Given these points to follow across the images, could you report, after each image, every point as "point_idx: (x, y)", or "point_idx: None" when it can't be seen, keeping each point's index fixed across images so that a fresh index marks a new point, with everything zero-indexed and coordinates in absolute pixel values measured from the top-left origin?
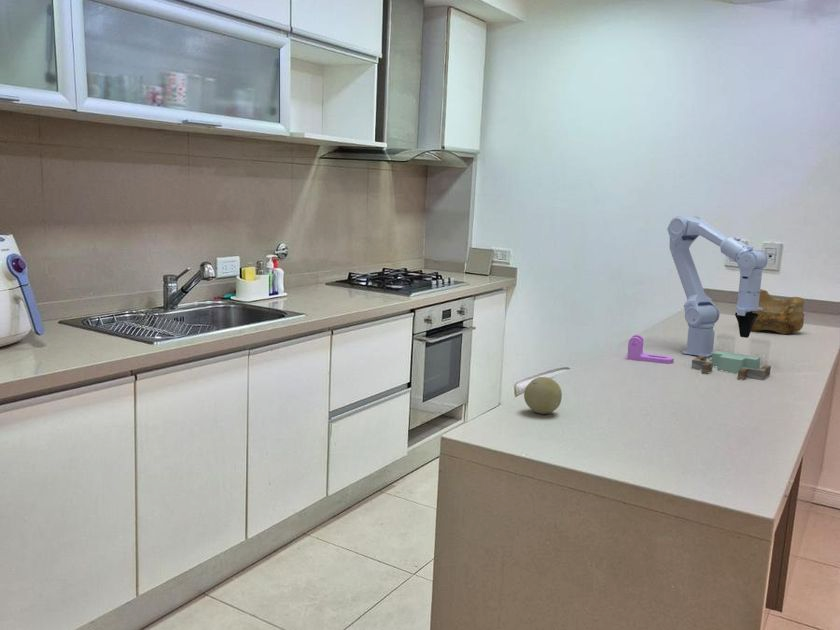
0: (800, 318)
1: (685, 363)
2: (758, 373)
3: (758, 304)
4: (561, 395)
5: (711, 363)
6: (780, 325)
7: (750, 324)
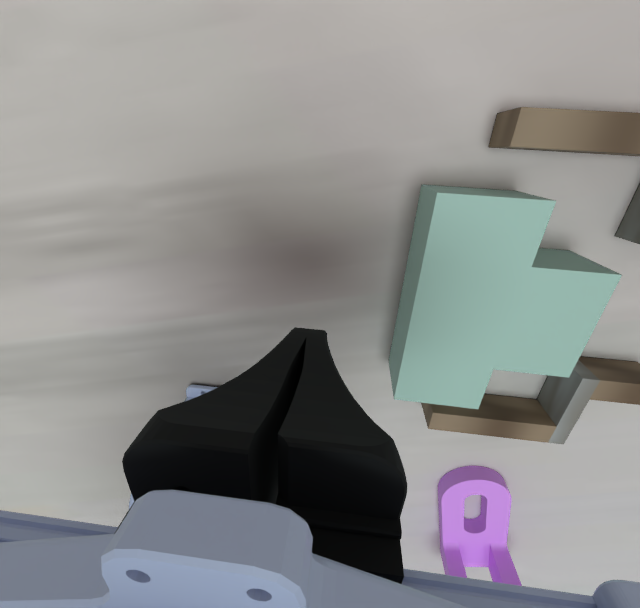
0: None
1: (460, 438)
2: None
3: None
4: None
5: (608, 380)
6: None
7: (351, 395)
